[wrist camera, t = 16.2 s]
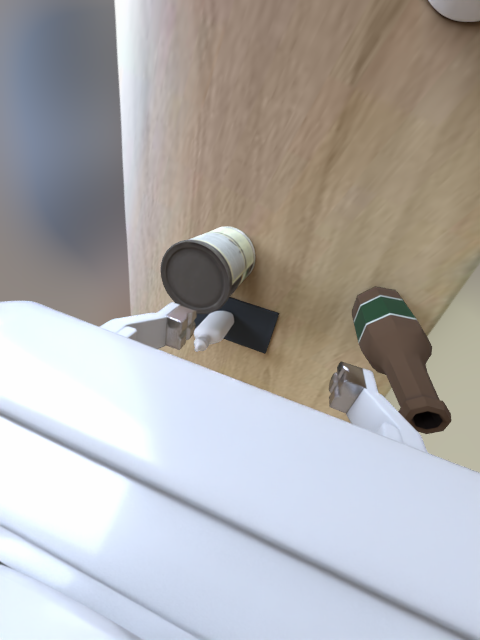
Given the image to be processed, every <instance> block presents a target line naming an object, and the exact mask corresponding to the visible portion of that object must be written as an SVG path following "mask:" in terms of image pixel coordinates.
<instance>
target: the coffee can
mask: <svg viewBox="0 0 480 640" xmlns="http://www.w3.org/2000/svg"><path fill="white" fill-rule="evenodd" d="M254 264H255V250H254V247H253V244H252V242H251V241H250V239H249V238H248V237H247V236H246V235H245V234H244V233H243V232H242V231H240V230H238V229H236V228H233V227H220V228H217V229H215V230H213V231H211V232H208V233H205V234H203V235H200V236H197V237H195V238H192V239H189V240H184V241H180V242H178V243H176V244H174V245H172V246H171V247H170V248H169V249H168V250H167V252H166V253H165V255H164V257H163V259H162V263H161V277H162V282H163V285H164V287H165V289H166V291H167V293H168V294H169V296H170V297H171V298H172V300H173V301H174V302H175V303H176V304H179V305H182V306H184V307H187V308H190V309H193V310H195V311H196V312H197V314H209V313H212V312H215V311H217V310H218V309H220V308H221V307H222V306H223V305H224V304H225V303H226V301H227V300H228V298H229V297H230V296H231V294H232V293H233V292H234V291H235V290H236V289H237V288H238V286H239V285H240V284H241V283H242V282H243V281H244V279H245V278H246V277H247V276H248V275H249V274H250V273H251V271H252V270H253V267H254Z"/></svg>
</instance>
